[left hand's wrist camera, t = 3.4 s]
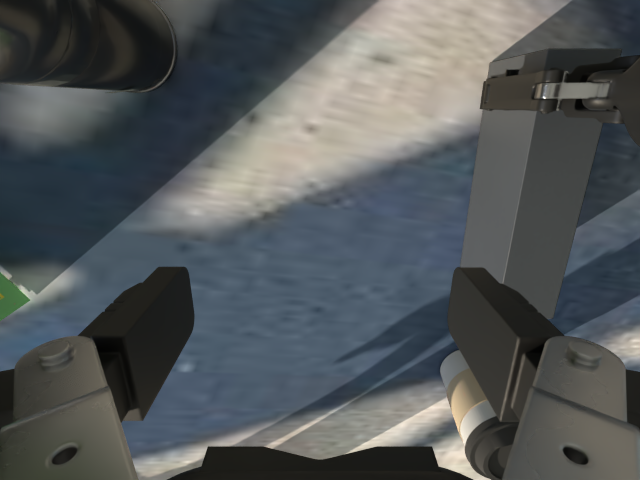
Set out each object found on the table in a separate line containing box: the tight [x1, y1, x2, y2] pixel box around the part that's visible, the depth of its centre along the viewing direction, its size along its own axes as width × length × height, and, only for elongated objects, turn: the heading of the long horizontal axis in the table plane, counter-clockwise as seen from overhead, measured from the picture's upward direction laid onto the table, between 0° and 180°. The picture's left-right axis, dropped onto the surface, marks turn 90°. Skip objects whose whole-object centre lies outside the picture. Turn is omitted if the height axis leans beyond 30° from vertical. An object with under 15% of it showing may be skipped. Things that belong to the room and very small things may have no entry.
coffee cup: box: [440, 350, 519, 480], centre depth 45 cm, size 9×9×15 cm
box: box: [460, 49, 622, 319], centre depth 38 cm, size 24×6×11 cm, turn 0°
